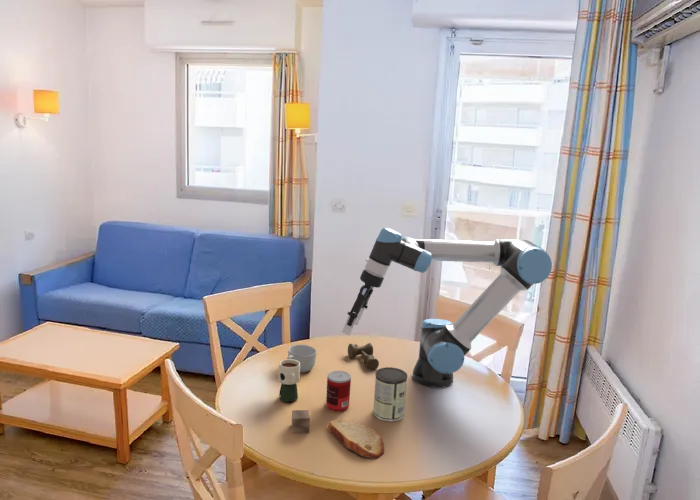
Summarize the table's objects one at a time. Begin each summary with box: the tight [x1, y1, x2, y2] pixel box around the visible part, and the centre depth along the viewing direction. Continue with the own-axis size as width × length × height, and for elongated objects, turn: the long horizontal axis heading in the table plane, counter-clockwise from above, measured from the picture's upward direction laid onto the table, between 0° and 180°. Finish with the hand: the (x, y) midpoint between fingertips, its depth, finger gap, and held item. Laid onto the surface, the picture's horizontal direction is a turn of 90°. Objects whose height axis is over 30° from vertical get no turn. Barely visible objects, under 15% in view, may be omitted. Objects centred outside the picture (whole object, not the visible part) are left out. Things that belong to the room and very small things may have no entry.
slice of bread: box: [326, 419, 385, 460], centre depth 165 cm, size 18×18×4 cm
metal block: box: [291, 409, 311, 434], centre depth 169 cm, size 5×5×5 cm
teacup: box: [286, 344, 318, 373], centre depth 210 cm, size 14×11×8 cm
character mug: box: [277, 358, 301, 403], centre depth 186 cm, size 11×7×13 cm, turn 22°
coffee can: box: [372, 366, 408, 422], centre depth 180 cm, size 10×10×14 cm
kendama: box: [347, 342, 380, 371], centre depth 222 cm, size 6×10×20 cm
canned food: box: [325, 370, 352, 413], centre depth 184 cm, size 8×8×11 cm
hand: (349, 328), depth 190 cm, fingers open, 13 cm apart
